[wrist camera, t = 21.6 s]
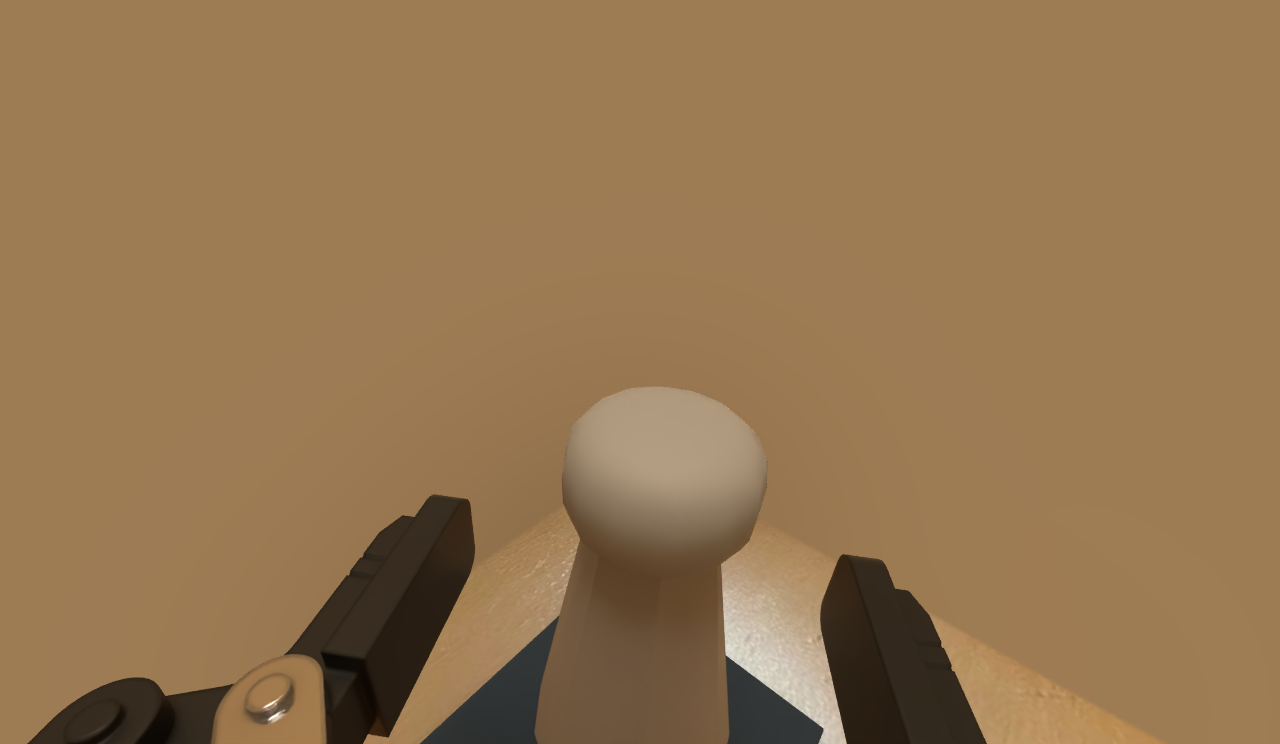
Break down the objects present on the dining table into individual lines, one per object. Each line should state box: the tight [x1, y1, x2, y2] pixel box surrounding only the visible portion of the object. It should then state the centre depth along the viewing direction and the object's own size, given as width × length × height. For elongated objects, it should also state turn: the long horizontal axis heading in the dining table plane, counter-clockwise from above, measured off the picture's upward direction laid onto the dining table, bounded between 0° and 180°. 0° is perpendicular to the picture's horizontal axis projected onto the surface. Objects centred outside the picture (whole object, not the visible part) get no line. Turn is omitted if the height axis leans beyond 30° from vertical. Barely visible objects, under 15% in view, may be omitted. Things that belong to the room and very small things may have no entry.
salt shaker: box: [534, 386, 768, 744], centre depth 13 cm, size 6×6×13 cm
